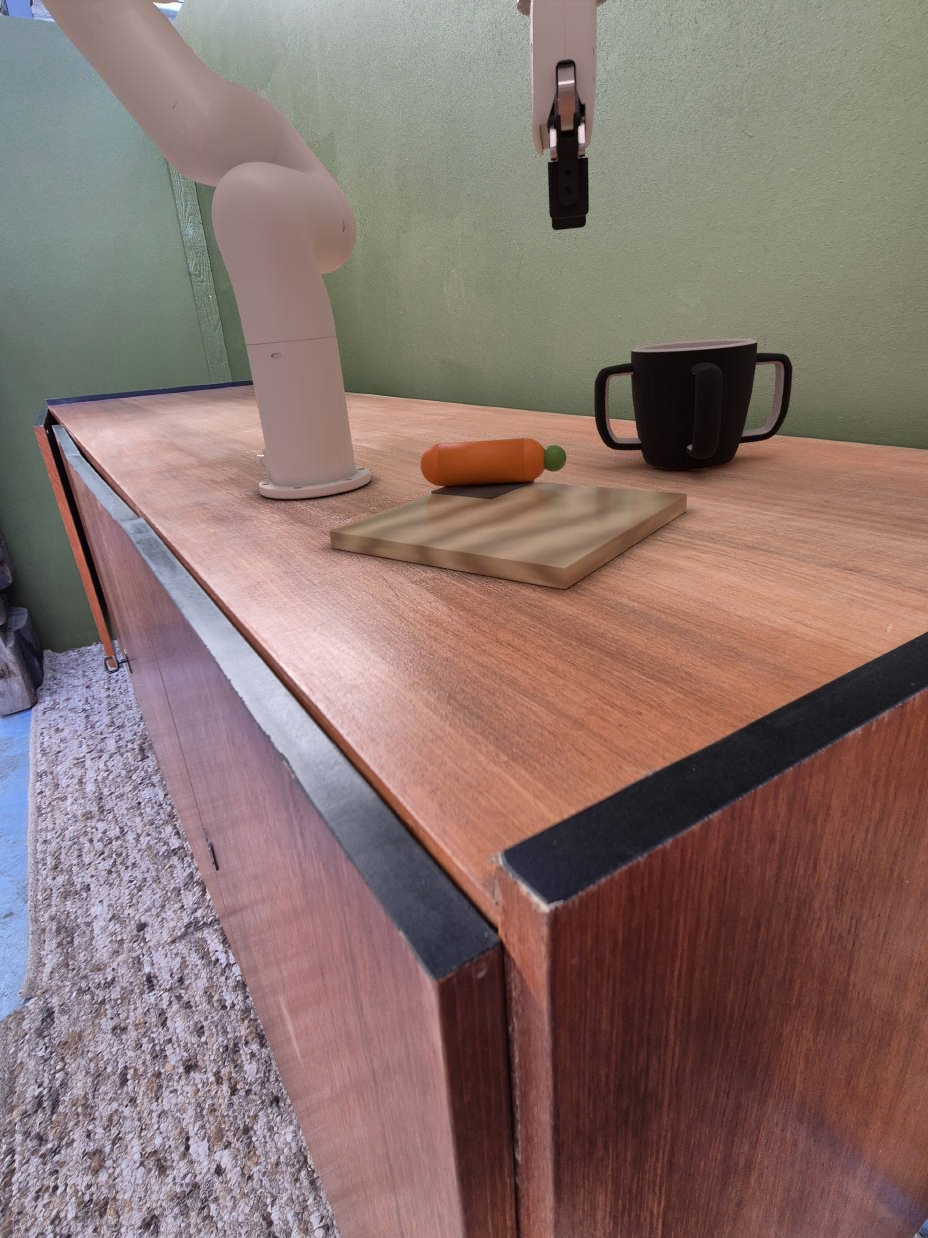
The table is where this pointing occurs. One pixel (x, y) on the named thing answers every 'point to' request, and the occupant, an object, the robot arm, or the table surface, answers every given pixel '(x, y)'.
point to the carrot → (489, 462)
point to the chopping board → (514, 529)
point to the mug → (693, 401)
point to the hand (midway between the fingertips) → (569, 222)
